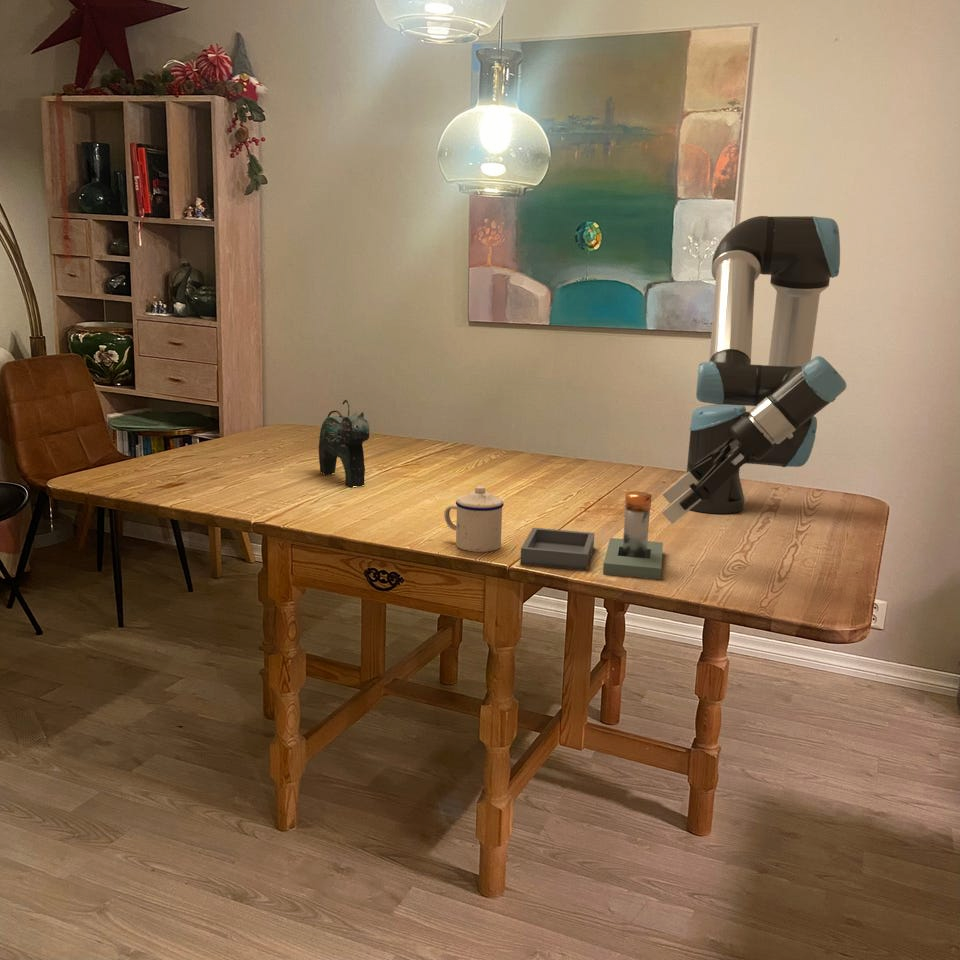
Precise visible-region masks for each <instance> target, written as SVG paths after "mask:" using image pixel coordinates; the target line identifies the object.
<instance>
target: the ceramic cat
mask: <svg viewBox="0 0 960 960" xmlns="http://www.w3.org/2000/svg"><path fill="white" fill-rule="evenodd" d="M344 404H347V408H348V410H347V413H348V414H347V416H343V415H342V414H341V412H340V411H339V410H331V411H329V413H328V414H327V417H326V418H325V419H324V421H323V422H322V424H321V428H320V433H319V440H318V460H319V461H318V462H319V472H320V473H321V472H322V473H324V474H332V473H335V474H336V467H337V462H338V461H337V459H338V458H339V459H340V461H341V464H342V466H343V469H344V475H345V486H347V485H349V486H348V487H350V486H351V487H350V488H352V487H353V486H362V485H364V486H365V473H366V466H365V454H364V448H363V443H365V442H366V441H368V440H369V439H370V424H369V421H368V420H367V418H366V417H365V414H364V413H365V412H364V411H362V412H360V414H358V415H357V412H354V413H353V414H352V415H350V403H349V401H348V400H347V399H345V400H343V402H342V405H344ZM335 413H337V414H338V415H339V416H331V414H335ZM362 487H363V486H362Z"/></svg>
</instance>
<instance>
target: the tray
mask: <svg viewBox="0 0 960 960" xmlns="http://www.w3.org/2000/svg"><path fill="white" fill-rule="evenodd" d="M594 546H595V532H587V531H577V530H562V529H555V528H552V529H551V528H542V527H532V528H531V530H530V532H529V534H528V535H527V537H526V539H525V541H524V542H523V544H522V546H521V547H520V561H519V562H520V563H519V564H520V565H523V566H524V565H525V566H535V567H536V566H538V567H547V568H555V569H557V568H558V569H565V570H577V571H586V570H588V568H587V567H589V564H590V561H591V559H592V558H591V557H592V555H591V554H593V552H594V548H595V547H594ZM592 551H593V552H592Z"/></svg>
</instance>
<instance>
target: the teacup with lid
mask: <svg viewBox="0 0 960 960" xmlns="http://www.w3.org/2000/svg"><path fill="white" fill-rule="evenodd" d="M504 506H505V505H504V501H503V499H502V498H500V496H496V495H493V494H492V493H491V492H489V491H486V487H485V486H484V485H483V486H482V485H480V486H479V485H478V486H475V487H474V490H472V491H470V492H469V493H467V494H463V495H460V496H458V497H457V499H456V501H455V504H451V505H448V506H447V507H446V508H445V510H444V515H443V516H444V521H445V522H446V525H447V527H449V528H450V529H451V530H453V531H456V533H455V545H456V547H457V548H458V549H461V550H463V551H466V550H467V552H471V551H473V553H488V551H489V552H492V551H496V550H498V549H500V548H501V545H502V528H503V527H502V524H503V523H502V522H503V521H502V520H503V507H504ZM451 510H456V525H455V524H454V523H453V522H452V519H451V517H450V513H451Z"/></svg>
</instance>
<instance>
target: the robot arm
mask: <svg viewBox="0 0 960 960" xmlns="http://www.w3.org/2000/svg"><path fill="white" fill-rule="evenodd" d="M840 237H841V236H840V229H839V225H838V223H837V222H836V221H835V220H834V219H832V218H829V217H820V216H814V215H813V216H807V215H805V216H802V215H801V216H798V215H797V216H791V215H790V216H786V215H785V216H784V215H783V216H779V215H778V216H769V215H760V216H759V215H757V216H754V217H750V218H747V219H745V220H743V221H741V222H740V223H738V224H737V225H735V226H734V227H733V228H731V229H730V230H729V231H728V232H727V233H726V234H725V235H724V237H723V238H722V239H721V240H720V242H719V243H718V245H717V247H716V248H715V251H714V254H713V257H712V260H711V261H712V262H711V275H712V278H713V279H714V280H715V287H714V297H713V312H712V313H713V314H712V322H711V323H712V324H711V338H710V349H709V361H704V362H700V363H699V365H698V369H697V381H696V392H695V393H696V394H695V396H696V399H697V400H698V401H699V402H701V403H706V404H707V405H704V406H703V405H702V406H700V407H697V408H696V409H695V410H693V412H692V414H691V420H690V421H691V422H690V426H689V428H688V429H689V431H690V432H689V433H690V434H689V441H688V442H689V443H688V454H687V465H686V472H685V474H684V475H682V476H681V477H680V478H679V479H678V480H677V481H675V482H674V483H673V484H672V485H671V486H669V487H668V488H667V489H666V490H664V492H662V494H661V495H662V497H664V499H665V500H666V501H667V502H668V503H669V505H668V506H666V507H665V508H664V509H663V510H662V511H661V514H662V515H663V516H664V517H665V518H666V519H667V521H668V522H670V524H671V525H673V524H674V523H676V522H677V521H678V520H680V519H681V518H682V517H683V516H685V514H687V513H688V512H690V511H693V512H694V511H695V512H701V513H706V514H733V513H734V514H735V513H740V512H741V511H743V510H745V509H744V508H745V501H746V500H745V495H744V491H743V487H742V483H741V479H740V478H741V477H740V468H741V467H742V466H744V465H746V464H748V465H749V464H750V465H761V466H770V467H771V466H773V467H781V468H787V467H790V468H791V467H793V468H795V467H796V468H797V467H799V468H800V467H803V466H804V465H805V464H807V462H808V460H809V459H810V457H811V453H812V452H813V451H812V450H813V448H814V446H815V445H814V444H815V440H816V433H817V428H818V420H817V419H818V418H817V417H816V416H815V415H816V414H818V413H819V412H820V411H822V410H823V409H825V408H826V407H827V406H828V405H830V404H831V403H833V402H835V400H836V399H837V398H838V396H840V395H842V393H843V392H845V391H846V389H847V382H846V380H845V379H844V377H842V375H841V374H840V373H839V372H838V370H837V369H835V368H834V366H833V365H832V364H831V363H830V362H829V361H828V360H827V359H826V358H825V357H823V356H819V355H817V356H815V357H813V358H812V355H813V348H814V340H815V332H816V325H817V318H818V310H819V302H820V297H821V293H823V292H824V291H825V290H826V289H827V288H829V287H830V279H831V278H835V277H836V278H837V277H838V276H839V273H840V268H841V265H840V264H841V242H840V240H841V239H840ZM760 275H765V276H766V275H769V276H770V285H771V286H772V288H773V289H774V290H775V291H776V297H775V305H774V315H773V322H772V331H771V340H770V346H769V347H770V349H769V356H768V357H769V358H768V365H765V364H764V365H762V364H752V348H753V347H752V345H753V344H752V343H753V326H754V323H753V321H754V305H755V303H754V301H755V285H756V281H757V279H758V278H759V277H760ZM747 406H748V407H749V406H750V407H753V408H752V409H751V410H749V411H747V408H746V407H747Z"/></svg>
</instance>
